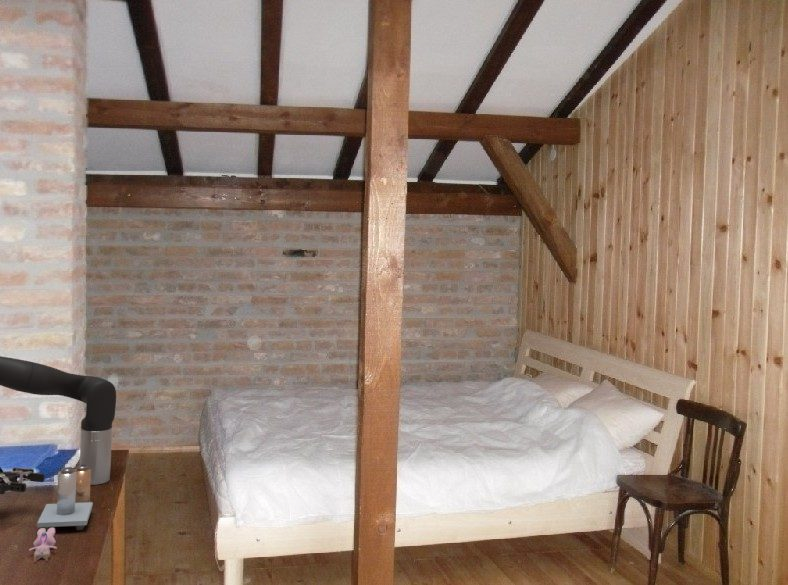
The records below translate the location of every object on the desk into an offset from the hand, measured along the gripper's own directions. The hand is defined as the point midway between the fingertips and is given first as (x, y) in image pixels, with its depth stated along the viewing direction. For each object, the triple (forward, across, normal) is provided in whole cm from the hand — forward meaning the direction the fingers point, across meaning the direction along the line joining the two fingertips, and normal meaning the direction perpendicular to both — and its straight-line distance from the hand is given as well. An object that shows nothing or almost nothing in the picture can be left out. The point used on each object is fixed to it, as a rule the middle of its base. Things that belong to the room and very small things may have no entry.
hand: (34, 482), depth 197 cm
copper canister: (+7, +13, +10) cm, 18 cm away
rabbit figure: (+13, -17, +11) cm, 24 cm away
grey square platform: (+9, 0, +10) cm, 14 cm away
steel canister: (+9, 0, +7) cm, 12 cm away
